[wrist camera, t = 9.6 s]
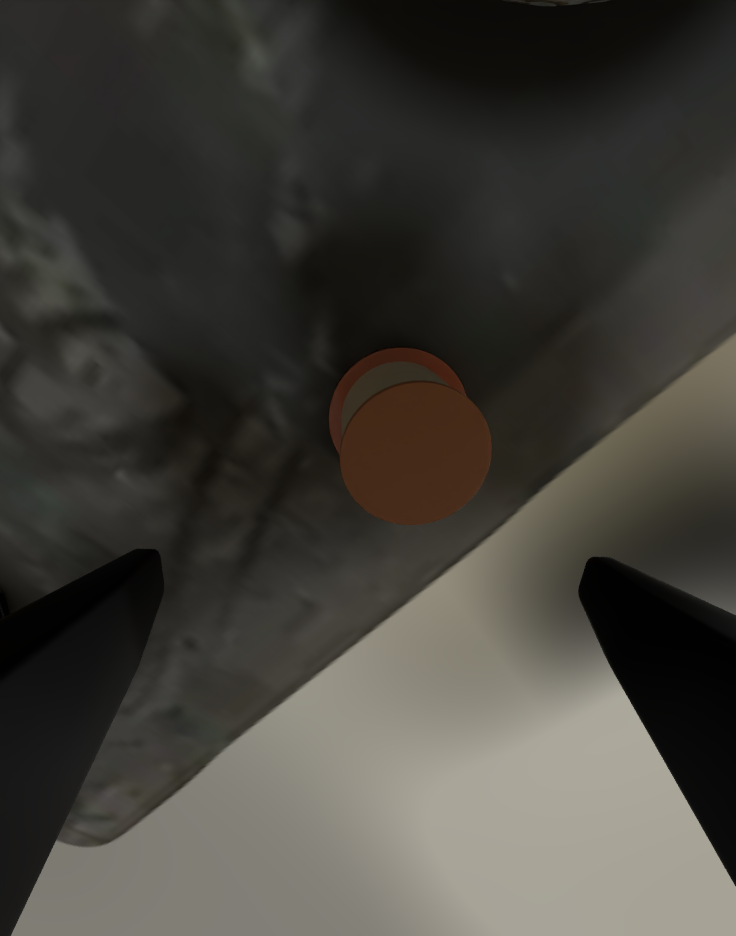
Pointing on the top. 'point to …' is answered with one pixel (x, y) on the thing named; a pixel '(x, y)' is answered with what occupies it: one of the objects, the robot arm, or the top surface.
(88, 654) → the robot arm
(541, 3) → the planter
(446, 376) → the coaster
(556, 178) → the top surface
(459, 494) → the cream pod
